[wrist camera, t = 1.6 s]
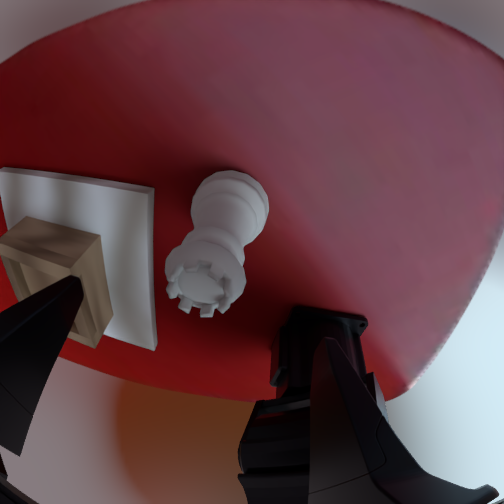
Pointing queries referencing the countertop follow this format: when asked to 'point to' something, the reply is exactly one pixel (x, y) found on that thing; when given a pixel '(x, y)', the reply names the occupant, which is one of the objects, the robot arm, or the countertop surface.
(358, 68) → the countertop surface
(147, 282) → the board
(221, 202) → the rook chess piece
